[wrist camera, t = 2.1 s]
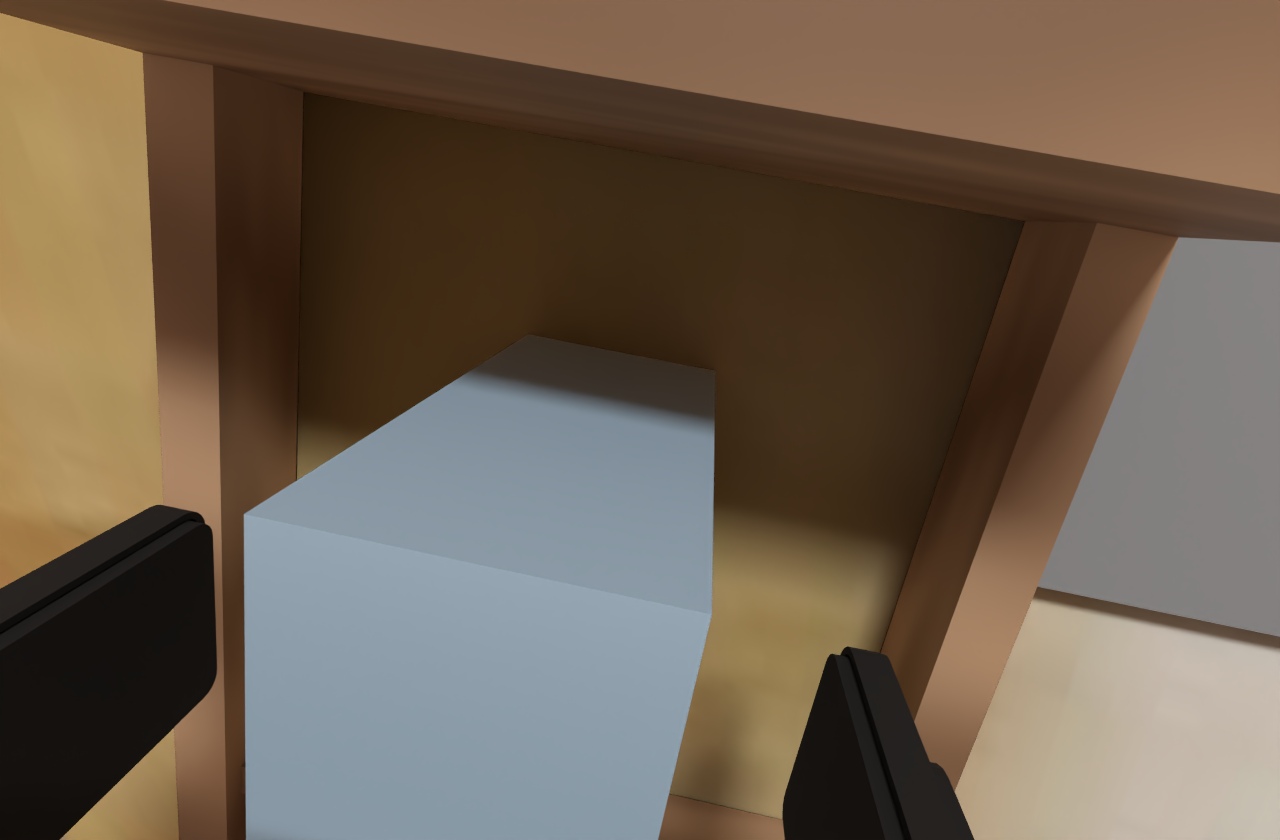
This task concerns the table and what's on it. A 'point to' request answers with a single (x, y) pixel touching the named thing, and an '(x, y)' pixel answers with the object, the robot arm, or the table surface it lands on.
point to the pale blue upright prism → (487, 609)
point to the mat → (1189, 452)
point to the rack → (738, 139)
